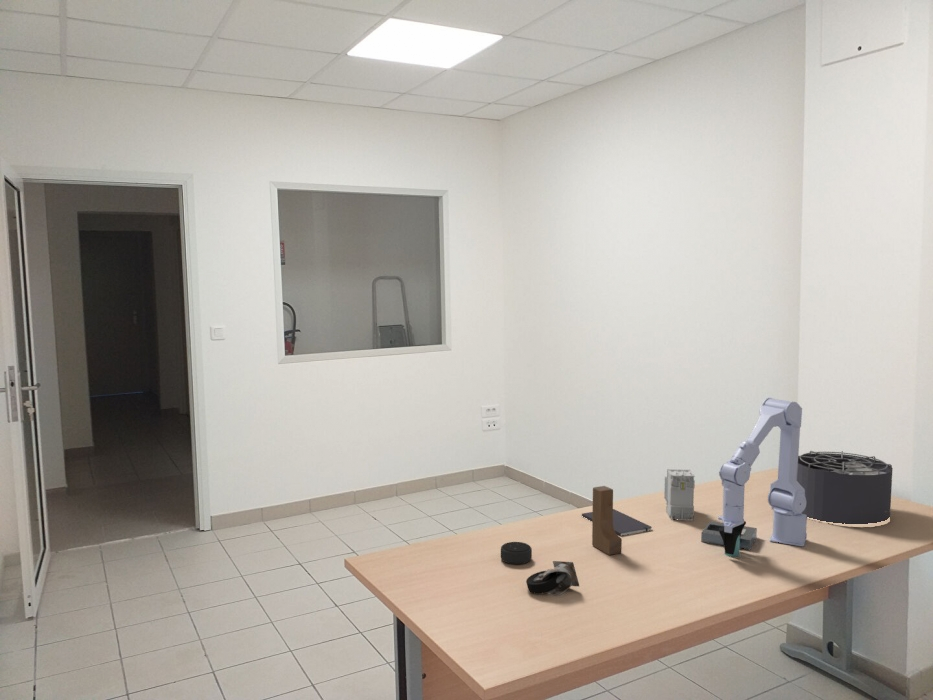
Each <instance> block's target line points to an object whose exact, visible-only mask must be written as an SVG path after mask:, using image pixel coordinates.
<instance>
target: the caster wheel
mask: <svg viewBox="0 0 933 700" xmlns="http://www.w3.org/2000/svg"><path fill="white" fill-rule="evenodd" d="M552 563H553V568H548V569H547V570H542V571H538V572H535V573H533V574H531V575H530V576H528V577H527V578H526V581H525V582H526V586H527V589H528V592H529V593H531V594H535V595H540V594H545V593H547V594H549V595H552V596H553V595H554V596H560V595H562V594H564V593H565V592H566V591H567V590H569V589H570V588H571V587H580V583H579V579H578V576H577V572H576V567H575V564H574V562H573V561H561V560H560V561H557V560H553V561H552Z"/></svg>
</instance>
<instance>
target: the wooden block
mask: <svg viewBox="0 0 933 700" xmlns="http://www.w3.org/2000/svg"><path fill="white" fill-rule="evenodd" d="M613 509H614V490H613V488H611V487H608V486H606V485H602V486H601V485H600V486H595V487H592V512H593V517H592V522H591V523H592V524H591V525H592V527H591V528H592V530H591V533H592V535H591V536H592V538H591V539H592V540H591V542H592V543H591V545H592V546H593V547H594V548H597V549H598V550H600V551H601V552H603V553H605V554H606V555H609V556H611V555H612V556H613V555H617V554H621V553H622V549H623V547H622V544H623V543H622V538H621V536H619V535H617V534H616V533H615V530H614V528H613Z"/></svg>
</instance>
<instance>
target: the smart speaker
mask: <svg viewBox="0 0 933 700" xmlns="http://www.w3.org/2000/svg"><path fill="white" fill-rule="evenodd" d="M532 553H533V552H532V546H531V545H529V544H528V543H525V542H523V541H522V542H521V541H509V542H506V543H503V544H502V545H501V547H500V559H501V560H502V561H503V562H504V563H506V564H511V565H524V564H527V563H528V562H530V561H531V560H532V557H533V555H532Z"/></svg>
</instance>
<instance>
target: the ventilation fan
mask: <svg viewBox="0 0 933 700" xmlns="http://www.w3.org/2000/svg"><path fill="white" fill-rule="evenodd" d="M797 482H798V483H799V484H800V485H801V486H802V487H803V488H804V489H805V498H806V507H805V509H804V511H803V512H802V514H806V515H807V517H809V518H813V519H817V520H820V521H826V522H833V523H842V524H844V523H845V524H868V523H877V522H881V521H885V520H887V519H888V518H889V517H890V518H891V504H892V503H891V501H892V488H893V487H892V485H893V484H892V483H893V465H892V464H891V463H886V462H885V461H884V460H881V459H878V458H876V456H874V455H873V456H867V455H863V454H857V453H850V452H843V450H842V451H841V452H840V451H813V450H810V451H809V452H805V453H803V454H801V455H798V470H797Z"/></svg>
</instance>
